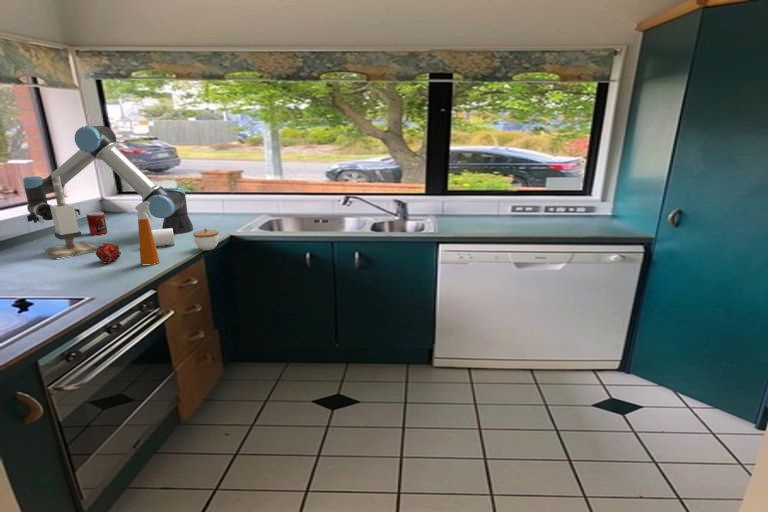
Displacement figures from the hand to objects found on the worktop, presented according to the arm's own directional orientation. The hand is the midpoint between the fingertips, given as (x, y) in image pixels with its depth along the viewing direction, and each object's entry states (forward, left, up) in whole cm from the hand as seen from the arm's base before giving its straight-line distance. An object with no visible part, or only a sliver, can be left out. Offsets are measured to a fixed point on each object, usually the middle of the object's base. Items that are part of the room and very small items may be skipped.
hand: (60, 217), depth 200 cm
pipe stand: (-4, +2, -15) cm, 16 cm away
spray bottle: (-52, +12, -16) cm, 56 cm away
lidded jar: (-62, -13, -16) cm, 66 cm away
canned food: (+10, -30, -16) cm, 35 cm away
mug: (-37, -16, -16) cm, 43 cm away
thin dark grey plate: (-4, +2, -8) cm, 10 cm away
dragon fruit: (-32, +12, -16) cm, 38 cm away
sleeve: (-4, +2, -6) cm, 8 cm away
